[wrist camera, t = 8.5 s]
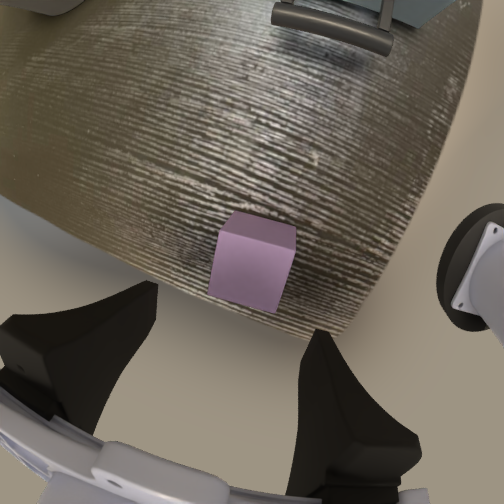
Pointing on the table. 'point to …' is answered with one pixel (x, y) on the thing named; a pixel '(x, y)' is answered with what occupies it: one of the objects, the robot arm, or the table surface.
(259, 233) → the block
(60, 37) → the table surface
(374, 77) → the table surface
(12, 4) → the coffee mug
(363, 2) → the drawer
